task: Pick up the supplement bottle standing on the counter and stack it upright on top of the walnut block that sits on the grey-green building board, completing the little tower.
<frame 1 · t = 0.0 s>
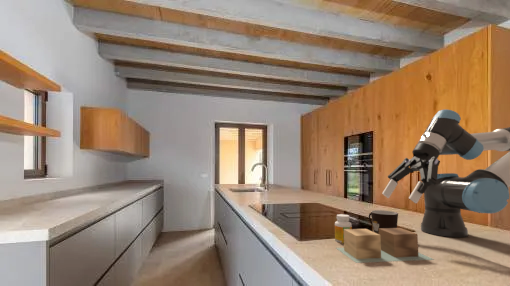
hand: (397, 198, 88), 15 cm above the worktop, tool tilted 35°, fingers open, 13 cm apart
coffee mug: (383, 241, 91), on the worktop
building board: (381, 258, 73), on the worktop
oak block: (361, 254, 72), point 1 cm above the worktop, touching building board
tower block: (398, 252, 74), point 1 cm above the worktop, touching building board
supplement bottle: (343, 246, 85), on the worktop
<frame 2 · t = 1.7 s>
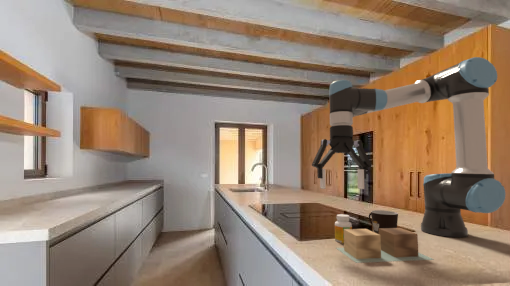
hand: (342, 188, 87), 18 cm above the worktop, tool pointing down, fingers open, 13 cm apart
nothing on the worktop moved.
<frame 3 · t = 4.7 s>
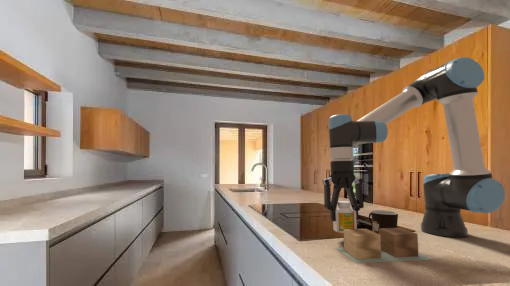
hand: (345, 230, 86), 5 cm above the worktop, tool pointing down, fingers closed on supplement bottle, 5 cm apart
supplement bottle: (345, 232, 86), point 4 cm above the worktop, touching gripper
everything else where it was.
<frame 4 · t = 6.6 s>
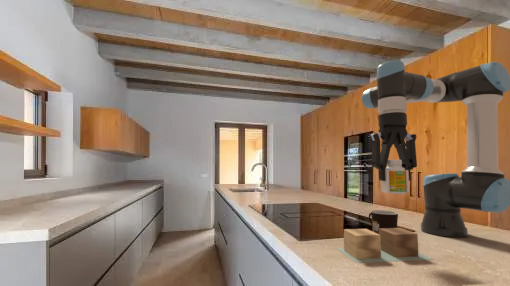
hand: (395, 192, 75), 19 cm above the worktop, tool pointing down, fingers closed on supplement bottle, 5 cm apart
supplement bottle: (395, 193, 75), point 18 cm above the worktop, touching gripper
everything else where it was.
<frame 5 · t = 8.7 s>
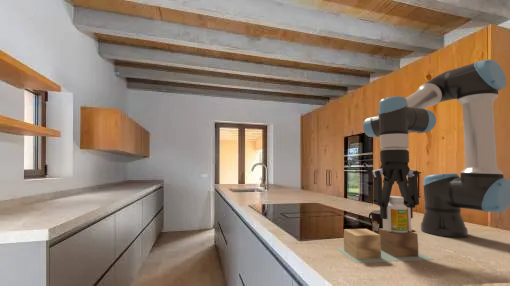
hand: (397, 230, 74), 8 cm above the worktop, tool pointing down, fingers closed on supplement bottle, tower block, 5 cm apart
tower block: (398, 252, 74), point 1 cm above the worktop, touching supplement bottle, building board, gripper
supplement bottle: (397, 231, 74), point 7 cm above the worktop, touching gripper, tower block
everything else where it was.
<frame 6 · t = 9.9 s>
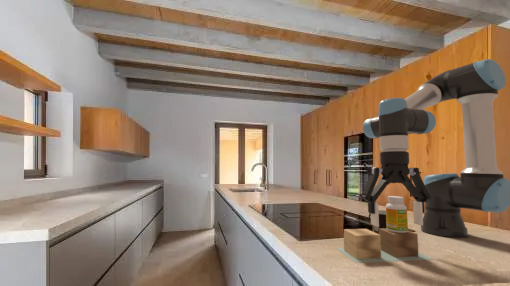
hand: (396, 224, 74), 9 cm above the worktop, tool pointing down, fingers open, 13 cm apart
tower block: (398, 252, 74), point 1 cm above the worktop, touching supplement bottle, building board
supplement bottle: (397, 231, 74), point 7 cm above the worktop, touching tower block
everything else where it was.
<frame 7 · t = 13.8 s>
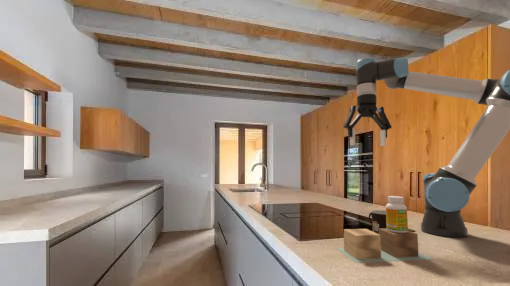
hand: (368, 145, 108), 35 cm above the worktop, tool pointing down, fingers open, 13 cm apart
nothing on the worktop moved.
at the end: supplement bottle 0.0 cm off-centre on the tower block, point 5.8 cm above the tower block's base; supplement bottle tilted 0°; tower block tilted 0° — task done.
